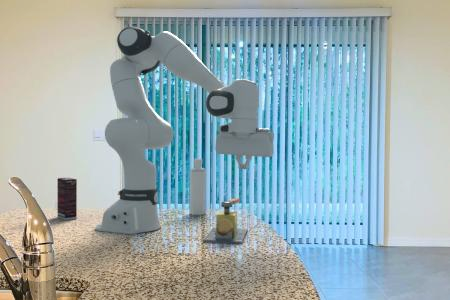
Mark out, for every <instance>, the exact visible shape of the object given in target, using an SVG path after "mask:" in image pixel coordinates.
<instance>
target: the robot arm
mask: <svg viewBox="0 0 450 300" xmlns="http://www.w3.org/2000/svg"><path fill="white" fill-rule="evenodd" d="M116 42H117V43H116V44H117V47H118V49H119V50H120V52H121V53H122V54H123V56H122V57H121V58H118V59H115V60H114V61H113V62H112V63H111V65H110V67H109V71H110V72H109V74H110V84H111V87H112V88H111V89H112V92H113V96H114V100H115V105H116V107H117V109H118V110H119V112H120V113H122V114H123V115H124V116H127V117H122V118H115V119H114V118H113V119H111V120H110V121H109V122H108V123H107V124H106V126H105V128H104V138H105V142H106V143H107V144H108V146H109V147H110V148H112V149H113V150H114V151H115V152H116V153H117V155H118V156H119V159H120V160H121V163H122V167H123V175H124V176H123V178H124V180H123V181H124V188H122V189H121V190H119V191H117V196H119V199H118V200H117V201H115V202H114V203H113V204H112V205H110V206H109V207H107V208H106V209H105V210H104V212H103V215H102V221H101V222H100V223H98V224H97V225H95V231H97V232H98V231H100V232H107V233H116V234H117V233H118V234H127V235H132V234H138V233H139V234H140V233H145V232H153V231H157V230H159V229H160V228H161V227H162V226H161V221H160V219H159V213H158V200H159V191H158V188H157V167H156V165H155V164H154V163H153V162H152V161H150V160H148V159H147V158H146V156H145V153H144V150H159V149H163V148H166V147H169V146H170V145H171V143H172V141H173V138H174V129H173V127H172V126H171V124H170V123H169V122H167V121H166V120H165V119H163V118H162V117H161V116H160V115H159V114H158V113H157V112H156V110H155V109H154V108H153V107H152V105H151V103H150V101H149V99H148V96H147V94H146V90H145V87H144V84H143V81H142V77H141V76H146V75H147V74H149V73H152V72H153V71H155V70H157V69H158V67H159V66H160V64H162V65H163V66H164V67H165V69H167V70H168V71H169V72H170V73H171V74H172V75H174V76H175V77H177V78H179V79H181V80H183V81H185V82H189V83H192V84H194V85H197V86H199V87H201V88H203V89H204V90H205V91H206V92H207V93H208V95H207V97H206V101H205V107H206V110H207V112H208V113H209V114H210V115H211V116H213V117H215V118H220V119H228V120H231V122H227V123H224V124H221V125H219V126H218V127H217V132H218V134H217V135H216V138H215V140H216V141H215V147H214V149H215V152H216V154H218V155H231V156H233V155H234V156H235V160H236V162H237V164H238V165H237V166H238V167H237V168H238V170H249V164H250V162H251V161H252V160H253V158H252V157H262V158H270V157H272V156H273V155H274V139H275V138H274V136H275V134H274V132H273V131H272V130H271V129H270V128H261V127H260V128H259V117H258V110H259V106H260V102H259V101H260V100H259V99H260V97H259V95H260V93H259V87H258V84H257V83H256V82H255V81H252V80H249V79H244V78H236V79H235V80H234V81H232V82H231V83H230V84H228V85H226V84H225V83H224V82H223V81H222V80H220V78H218V77H217V76H216V75H215V74H214V73H213V72H212V71H211V70H210V69H209V68H208V67H207V66H206V65H205V64H204V63H203V62H202V61H201V59H200V58H199V57H198V55H196V54H195V53H194V51H192V49H191V48H190V47H189V46H188V45H187V44H185V42H184V41H182V40H181V39H180V38H179V37H178V36H176V35H174V34H173V33H171V32H169V31H160V32H159V33H158V34H156V35H153V36H152V34H151V32H150V31H148V30H145V29H142V28H140V27H138V26H137V27H136V26H127V27H124V28H123V29H122V30H121V31H119V33H118V34H117V38H116ZM243 156H244V157H245V162H244V163H243V162H242V158H243Z"/></svg>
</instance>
